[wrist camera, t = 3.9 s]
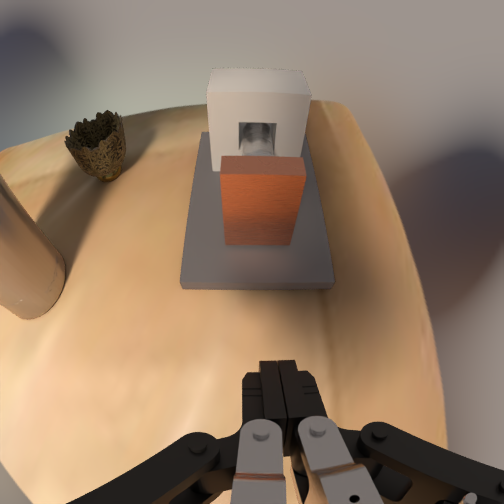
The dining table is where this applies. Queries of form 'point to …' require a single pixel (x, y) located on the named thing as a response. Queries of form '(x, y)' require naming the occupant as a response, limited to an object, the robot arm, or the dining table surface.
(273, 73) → the peg hole fixture
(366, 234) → the dining table surface
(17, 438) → the dining table surface
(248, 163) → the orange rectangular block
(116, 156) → the cup
